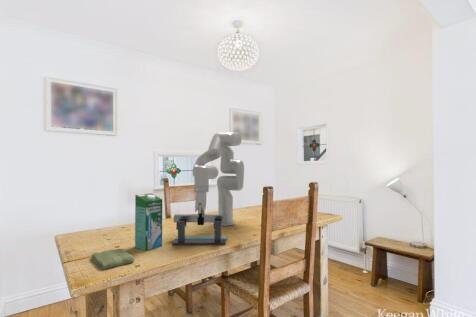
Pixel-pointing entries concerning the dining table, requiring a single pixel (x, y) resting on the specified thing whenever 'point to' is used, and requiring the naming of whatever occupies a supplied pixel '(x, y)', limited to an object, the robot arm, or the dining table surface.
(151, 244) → the milk carton
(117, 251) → the washcloth
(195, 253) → the dining table surface
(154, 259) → the dining table surface
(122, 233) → the dining table surface
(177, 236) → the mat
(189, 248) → the dining table surface
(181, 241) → the rack
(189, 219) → the rail
